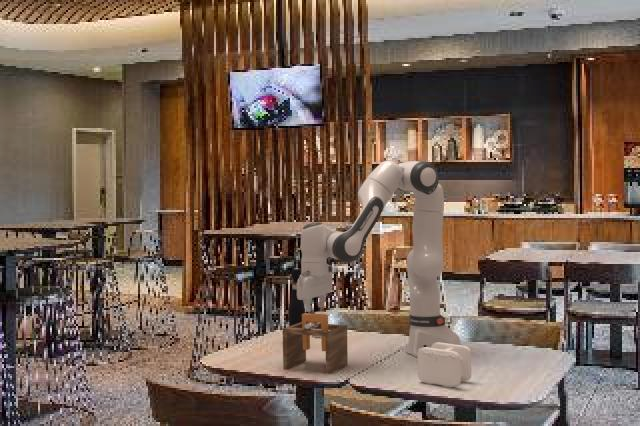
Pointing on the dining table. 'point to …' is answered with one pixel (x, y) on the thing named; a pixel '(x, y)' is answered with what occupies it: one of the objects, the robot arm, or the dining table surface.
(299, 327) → the walnut shelf
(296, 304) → the wine bottle
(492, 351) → the dining table surface
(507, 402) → the dining table surface
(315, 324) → the hook rod
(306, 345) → the wooden u-shaped block
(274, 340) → the dining table surface
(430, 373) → the cable organizer
